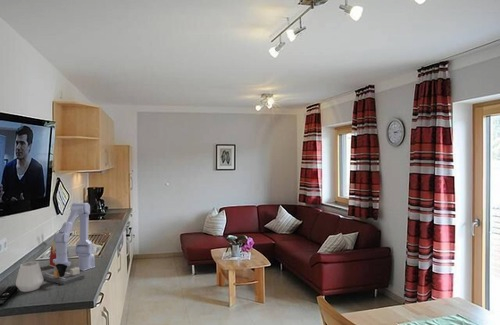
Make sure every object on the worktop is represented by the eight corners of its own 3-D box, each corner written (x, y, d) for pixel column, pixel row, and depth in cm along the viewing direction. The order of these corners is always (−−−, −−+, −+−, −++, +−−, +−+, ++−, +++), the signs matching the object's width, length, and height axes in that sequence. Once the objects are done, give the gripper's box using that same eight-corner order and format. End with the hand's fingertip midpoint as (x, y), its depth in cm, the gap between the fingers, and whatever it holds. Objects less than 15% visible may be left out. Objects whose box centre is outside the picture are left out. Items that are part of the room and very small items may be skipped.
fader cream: (76, 272, 221) (76, 266, 221) (79, 273, 220) (79, 267, 220) (69, 274, 217) (69, 268, 217) (72, 275, 216) (72, 269, 216)
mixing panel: (58, 271, 232) (58, 268, 232) (84, 278, 219) (84, 274, 219) (38, 277, 220) (38, 273, 220) (63, 284, 207) (63, 281, 207)
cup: (13, 288, 202) (12, 263, 202) (40, 282, 211) (39, 258, 211) (18, 295, 192) (18, 269, 192) (46, 288, 202) (46, 263, 201)
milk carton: (69, 264, 246) (68, 235, 246) (55, 268, 239) (55, 237, 238) (61, 262, 252) (61, 233, 251) (48, 265, 244) (47, 236, 243)
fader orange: (61, 274, 217) (60, 268, 217) (64, 275, 216) (63, 269, 216) (53, 276, 214) (53, 270, 214) (56, 277, 212) (56, 271, 212)
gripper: (47, 253, 213) (48, 276, 213) (62, 256, 206) (63, 280, 206) (59, 250, 219) (59, 272, 220) (74, 253, 212) (74, 276, 212)
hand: (62, 276), depth 213 cm, fingers closed
